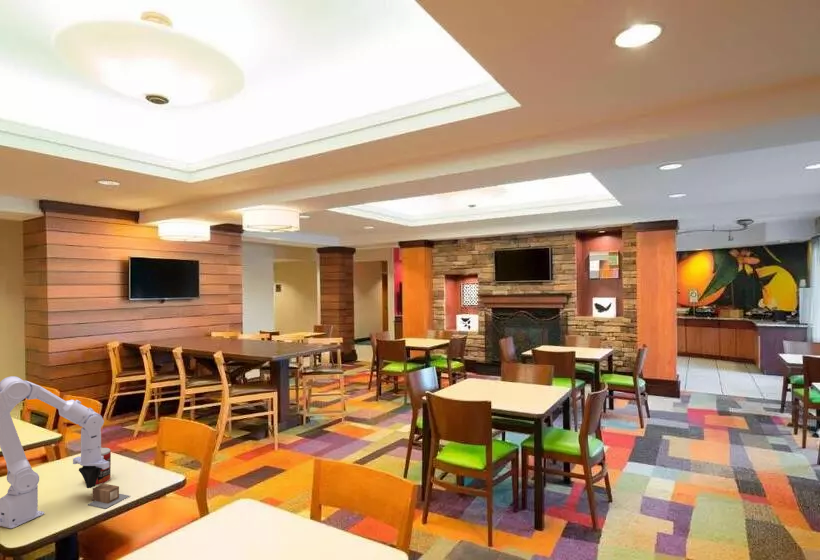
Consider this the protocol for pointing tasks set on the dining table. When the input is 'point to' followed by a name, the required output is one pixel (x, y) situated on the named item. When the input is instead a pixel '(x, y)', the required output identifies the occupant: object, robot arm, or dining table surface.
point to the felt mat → (107, 505)
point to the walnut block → (105, 493)
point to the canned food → (105, 473)
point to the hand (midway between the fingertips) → (91, 486)
